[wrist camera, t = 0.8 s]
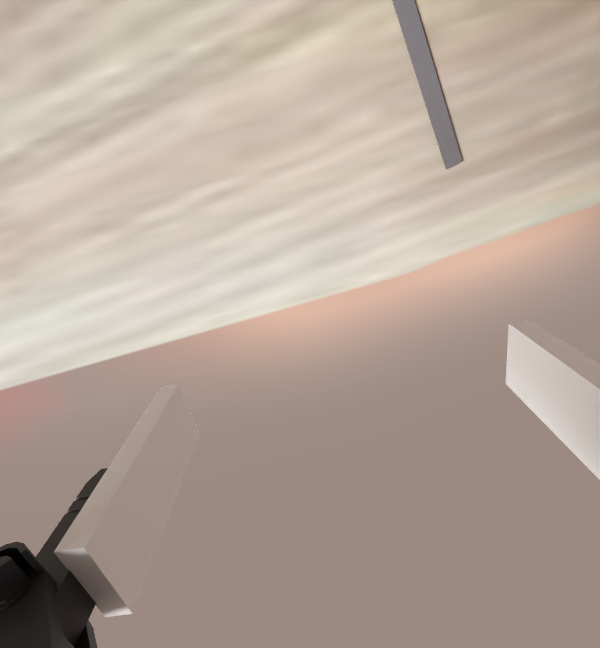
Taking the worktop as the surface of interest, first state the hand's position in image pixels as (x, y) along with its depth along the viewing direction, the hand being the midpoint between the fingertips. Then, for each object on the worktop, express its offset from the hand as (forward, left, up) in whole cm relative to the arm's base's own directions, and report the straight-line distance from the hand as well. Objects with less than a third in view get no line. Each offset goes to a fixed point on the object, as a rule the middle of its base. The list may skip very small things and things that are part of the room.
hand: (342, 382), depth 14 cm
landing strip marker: (-10, +17, -27) cm, 34 cm away
